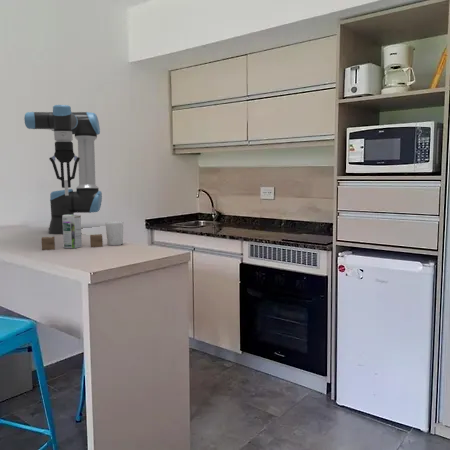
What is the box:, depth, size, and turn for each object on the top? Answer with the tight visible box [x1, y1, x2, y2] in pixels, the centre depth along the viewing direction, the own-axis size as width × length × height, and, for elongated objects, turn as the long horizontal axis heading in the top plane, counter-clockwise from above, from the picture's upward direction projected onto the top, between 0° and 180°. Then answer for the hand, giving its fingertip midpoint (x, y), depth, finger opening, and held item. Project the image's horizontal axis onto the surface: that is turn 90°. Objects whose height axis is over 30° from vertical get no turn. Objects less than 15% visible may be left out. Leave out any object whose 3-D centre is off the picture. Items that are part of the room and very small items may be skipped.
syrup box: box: [62, 214, 83, 250], centre depth 198 cm, size 6×6×14 cm
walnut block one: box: [89, 233, 104, 248], centre depth 202 cm, size 5×5×5 cm
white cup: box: [105, 221, 124, 246], centre depth 205 cm, size 8×8×10 cm
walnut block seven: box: [41, 236, 56, 251], centre depth 195 cm, size 5×5×5 cm
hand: (66, 195), depth 201 cm, fingers closed
